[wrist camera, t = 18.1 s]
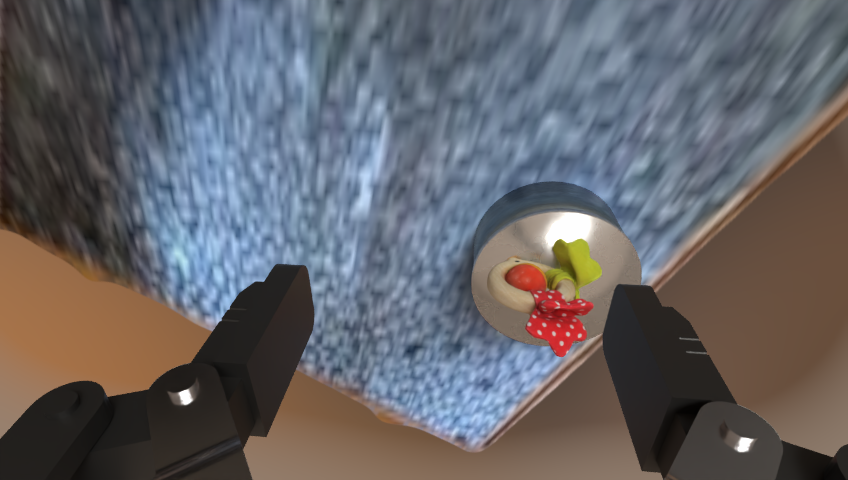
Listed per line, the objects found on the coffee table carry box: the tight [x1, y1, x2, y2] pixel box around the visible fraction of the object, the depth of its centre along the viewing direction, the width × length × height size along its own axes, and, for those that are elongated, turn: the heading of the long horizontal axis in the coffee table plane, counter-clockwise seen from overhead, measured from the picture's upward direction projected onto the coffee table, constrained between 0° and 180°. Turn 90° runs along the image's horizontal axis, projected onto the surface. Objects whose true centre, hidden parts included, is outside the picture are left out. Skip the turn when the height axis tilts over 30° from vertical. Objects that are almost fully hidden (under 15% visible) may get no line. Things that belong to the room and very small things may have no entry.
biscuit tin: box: [471, 182, 641, 346], centre depth 47 cm, size 15×15×7 cm
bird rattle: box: [487, 238, 602, 357], centre depth 38 cm, size 6×11×9 cm
